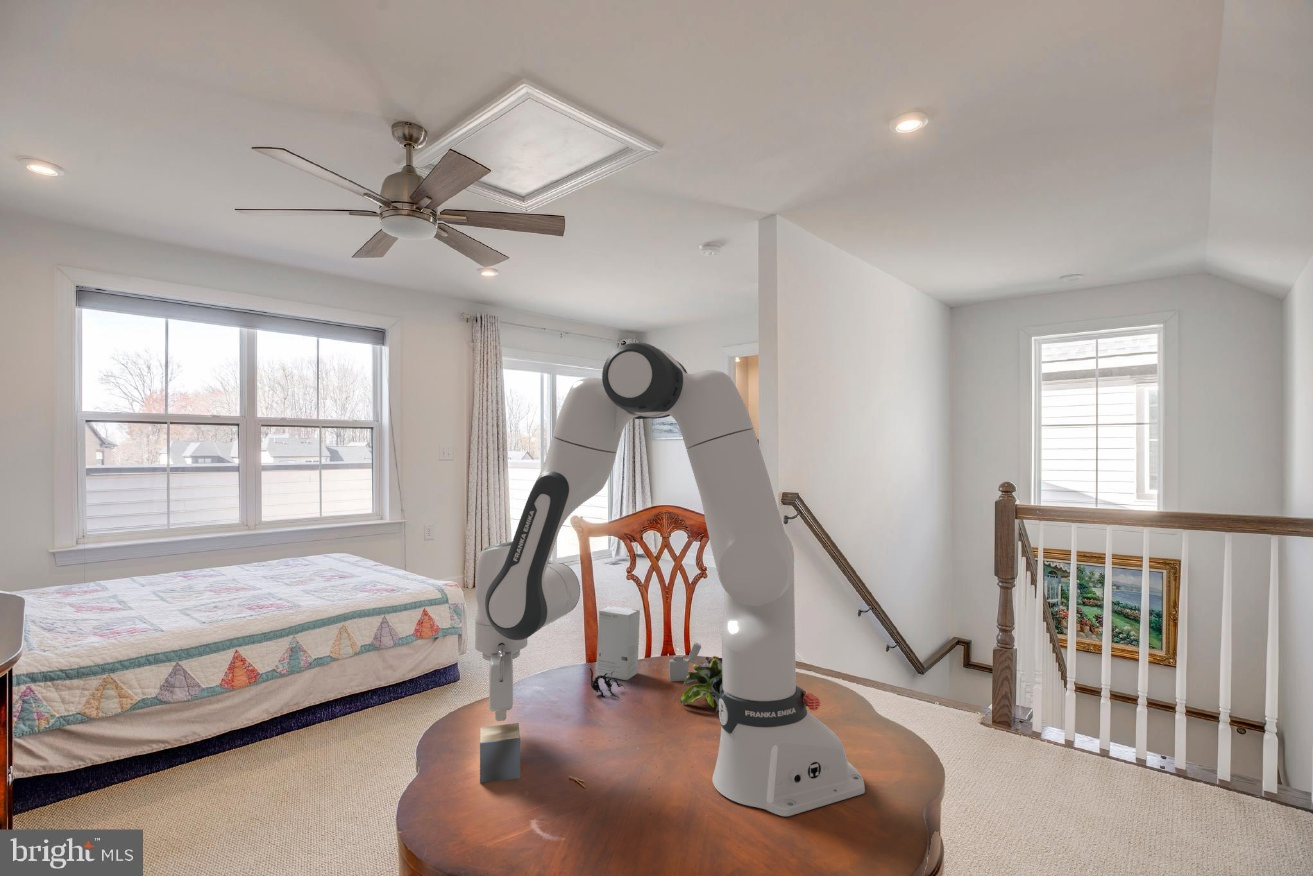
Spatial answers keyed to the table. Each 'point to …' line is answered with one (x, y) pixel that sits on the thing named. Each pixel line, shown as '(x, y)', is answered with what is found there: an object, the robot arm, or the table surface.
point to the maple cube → (499, 752)
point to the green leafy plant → (704, 682)
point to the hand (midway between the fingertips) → (500, 717)
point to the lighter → (682, 664)
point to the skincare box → (618, 642)
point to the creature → (596, 685)
